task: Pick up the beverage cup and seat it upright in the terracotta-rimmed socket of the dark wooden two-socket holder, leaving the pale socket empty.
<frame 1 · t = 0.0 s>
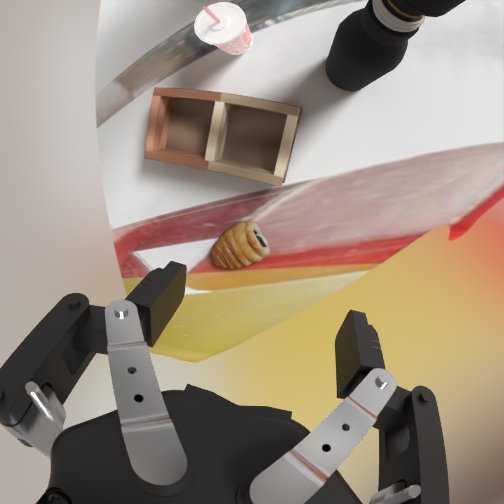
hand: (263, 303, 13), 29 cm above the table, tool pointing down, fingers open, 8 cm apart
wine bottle: (347, 70, 30), on the table
cup holder: (224, 130, 37), on the table
pastry: (243, 243, 45), on the table
beverage cup: (237, 41, 31), on the table
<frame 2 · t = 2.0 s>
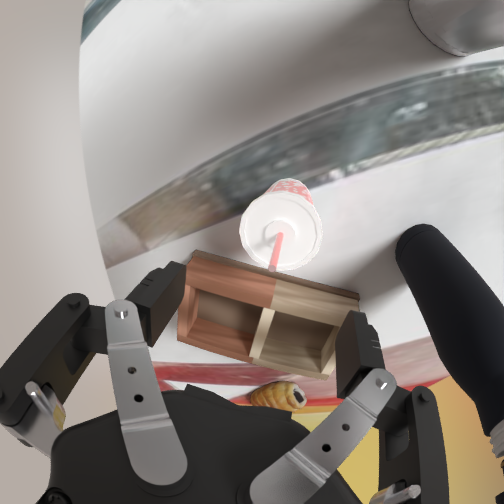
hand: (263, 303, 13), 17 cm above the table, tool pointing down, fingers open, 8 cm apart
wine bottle: (419, 249, 27), on the table
cup holder: (267, 308, 34), on the table
pastry: (281, 391, 43), on the table
beverage cup: (288, 199, 28), on the table
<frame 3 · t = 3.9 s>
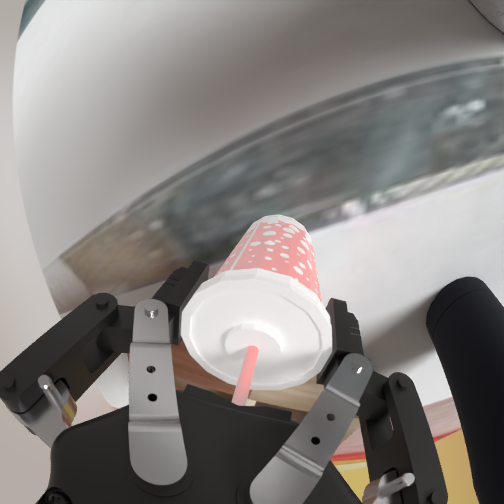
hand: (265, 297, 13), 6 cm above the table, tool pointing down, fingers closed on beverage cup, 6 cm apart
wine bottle: (457, 308, 18), on the table
cup holder: (250, 378, 25), on the table
beverage cup: (277, 246, 19), on the table, touching gripper
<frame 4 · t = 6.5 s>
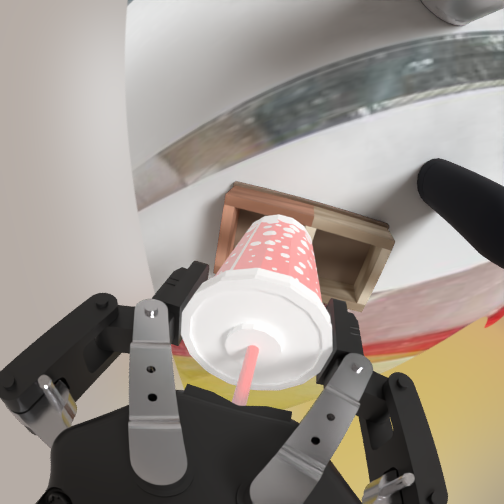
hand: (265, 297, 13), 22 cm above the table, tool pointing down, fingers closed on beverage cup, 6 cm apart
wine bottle: (437, 182, 29), on the table
cup holder: (302, 240, 36), on the table
beverage cup: (277, 246, 19), point 17 cm above the table, touching gripper
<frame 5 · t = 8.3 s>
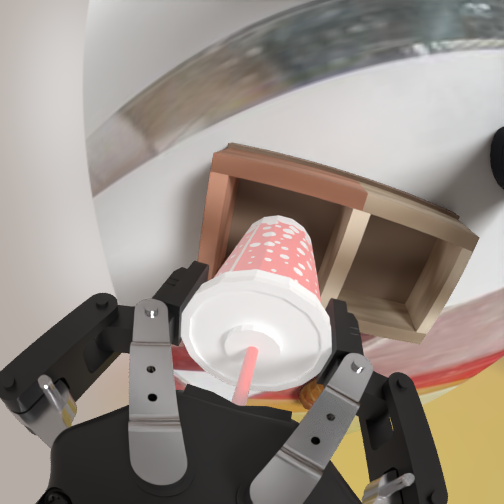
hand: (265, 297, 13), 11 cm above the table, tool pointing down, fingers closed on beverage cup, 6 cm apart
cup holder: (335, 237, 23), on the table
pastry: (340, 381, 31), on the table
beverage cup: (277, 247, 19), point 5 cm above the table, touching gripper
when the fingers open (8 cm above the table, at t = 9.4 s): beverage cup drops 1 cm, resting on cup holder.
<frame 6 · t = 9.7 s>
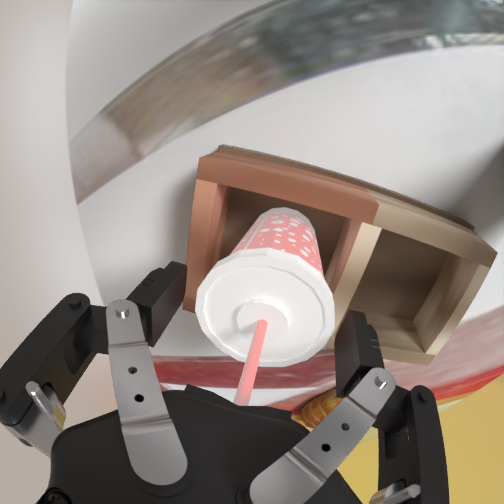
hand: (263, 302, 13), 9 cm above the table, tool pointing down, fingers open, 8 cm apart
cup holder: (339, 250, 20), on the table
pastry: (343, 399, 28), on the table
beverage cup: (283, 237, 20), point 1 cm above the table, touching cup holder
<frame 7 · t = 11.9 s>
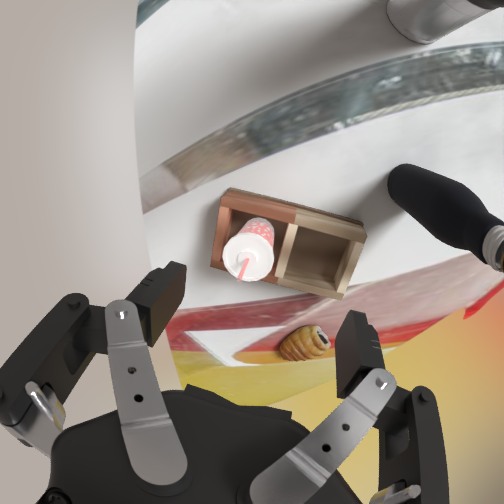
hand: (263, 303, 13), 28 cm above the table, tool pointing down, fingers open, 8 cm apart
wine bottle: (406, 184, 35), on the table
cup holder: (287, 238, 42), on the table
pastry: (306, 339, 49), on the table
beverage cup: (258, 232, 41), point 1 cm above the table, touching cup holder
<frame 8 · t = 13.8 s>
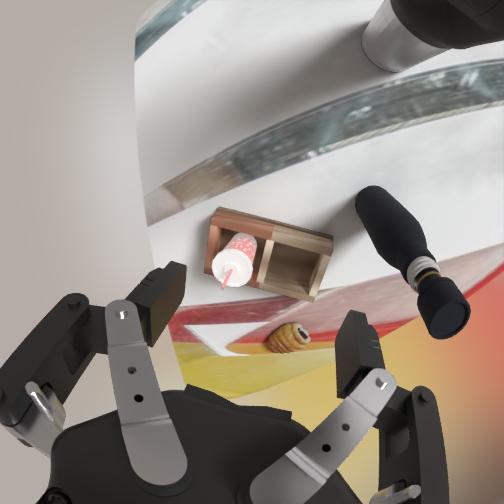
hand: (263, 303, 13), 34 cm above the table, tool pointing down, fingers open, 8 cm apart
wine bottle: (373, 203, 43), on the table
cup holder: (268, 249, 50), on the table
pastry: (290, 334, 58), on the table
beverage cup: (244, 244, 49), point 1 cm above the table, touching cup holder
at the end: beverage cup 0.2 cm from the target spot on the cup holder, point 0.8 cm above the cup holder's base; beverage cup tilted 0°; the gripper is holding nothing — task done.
